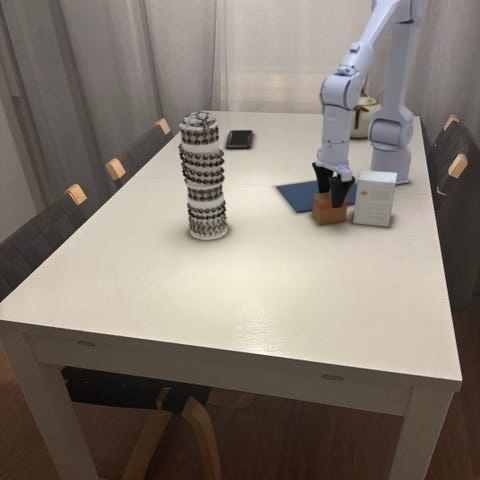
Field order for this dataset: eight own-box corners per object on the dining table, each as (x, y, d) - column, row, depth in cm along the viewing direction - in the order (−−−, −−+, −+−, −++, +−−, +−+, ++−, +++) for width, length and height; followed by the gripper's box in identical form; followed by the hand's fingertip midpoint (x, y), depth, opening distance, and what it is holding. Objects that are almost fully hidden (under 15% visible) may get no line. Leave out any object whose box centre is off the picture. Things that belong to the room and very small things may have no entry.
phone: (225, 145, 148) (230, 130, 160) (225, 148, 149) (230, 133, 161) (250, 145, 148) (253, 129, 159) (250, 148, 148) (253, 133, 160)
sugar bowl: (337, 124, 165) (341, 76, 155) (381, 126, 161) (388, 78, 152) (330, 142, 150) (334, 91, 141) (378, 145, 147) (385, 93, 137)
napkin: (346, 177, 128) (346, 176, 128) (374, 201, 116) (374, 200, 116) (276, 187, 125) (276, 186, 125) (297, 213, 113) (297, 211, 113)
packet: (337, 212, 112) (340, 190, 109) (346, 220, 109) (348, 198, 105) (311, 216, 111) (313, 194, 108) (319, 225, 108) (320, 202, 104)
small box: (390, 216, 110) (398, 172, 103) (388, 227, 105) (396, 182, 99) (355, 212, 112) (361, 169, 105) (352, 223, 108) (357, 178, 101)
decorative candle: (183, 226, 109) (168, 113, 94) (220, 218, 112) (212, 106, 96) (195, 244, 103) (182, 125, 87) (235, 234, 105) (229, 117, 90)
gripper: (305, 130, 103) (302, 190, 112) (331, 152, 92) (326, 216, 101) (335, 127, 105) (330, 186, 113) (364, 148, 94) (356, 211, 102)
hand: (330, 200), depth 107 cm, fingers open, 7 cm apart
